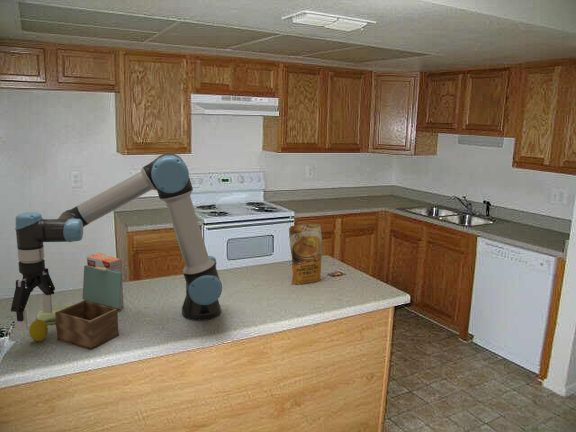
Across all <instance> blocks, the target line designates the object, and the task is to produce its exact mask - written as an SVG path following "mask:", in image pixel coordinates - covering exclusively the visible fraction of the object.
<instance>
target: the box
mask: <svg viewBox="0 0 576 432" xmlns="http://www.w3.org/2000/svg"><path fill="white" fill-rule="evenodd" d="M73 304H74V305H72V306H69V307H67V308H65V309H62V310H60V311H57V312H55V317H56V324H55V327H56V329H55V330H56V340H57V341H59V342H64V343H67V344H71V345H74V346H76V347H80V348H83V349H86V350H90V351H93V350H95V349H97V348H99V347H101V346H102V345H104V344H106V343H108V342H109V341H112V340H113V339H115V338H117V337H119V318H118V317H119V316H118V315H119V314H118V312H119V313H120V312H121V311H122V309H118V308H114V307H110V306H106V305H102V304H98V303H94V302H90V301H87V300H82V301H79V302H77V304H75V303H73Z"/></svg>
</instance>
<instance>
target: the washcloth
mask: <svg viewBox="0 0 576 432" xmlns="http://www.w3.org/2000/svg"><path fill="white" fill-rule="evenodd" d="M77 303H78V302H77ZM77 303H73V304H66V305H61V306H59V305H58V306H54V307H53V306H52V313H43V309H41V310H39V311H38V312H37V316H36V320H37V319H39V320H42V321H44V322H45V323H46V325H47V327H48V325H49V326H52V325H53V324H54V325H56V317H55V312H57V311H60V310H62V309H65V308H67V307H69V306H72V305H74V304H77Z"/></svg>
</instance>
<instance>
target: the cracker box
mask: <svg viewBox="0 0 576 432" xmlns="http://www.w3.org/2000/svg"><path fill="white" fill-rule="evenodd" d="M86 261H87V263H86V264H87V266H91V267H102V268H107V269H109V270H110V271H115V272H120V273H122V274H123V271H122V270H123V269H122V259H121V258H118V257H114V256H110V255H107V254H102V253H101V252H98V253H94V254H90V255H89V254H88V255H87V256H86ZM123 290H124V289H123V283H122V284H121V301H120V308H118V309H121V310H122V309H123V308H124V292H123ZM90 302H91V301H90ZM94 303H95V302H94ZM98 304H99V303H98ZM102 305H103V304H102ZM106 306H107V305H106ZM110 307H111V306H110ZM114 308H115V307H114Z"/></svg>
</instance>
